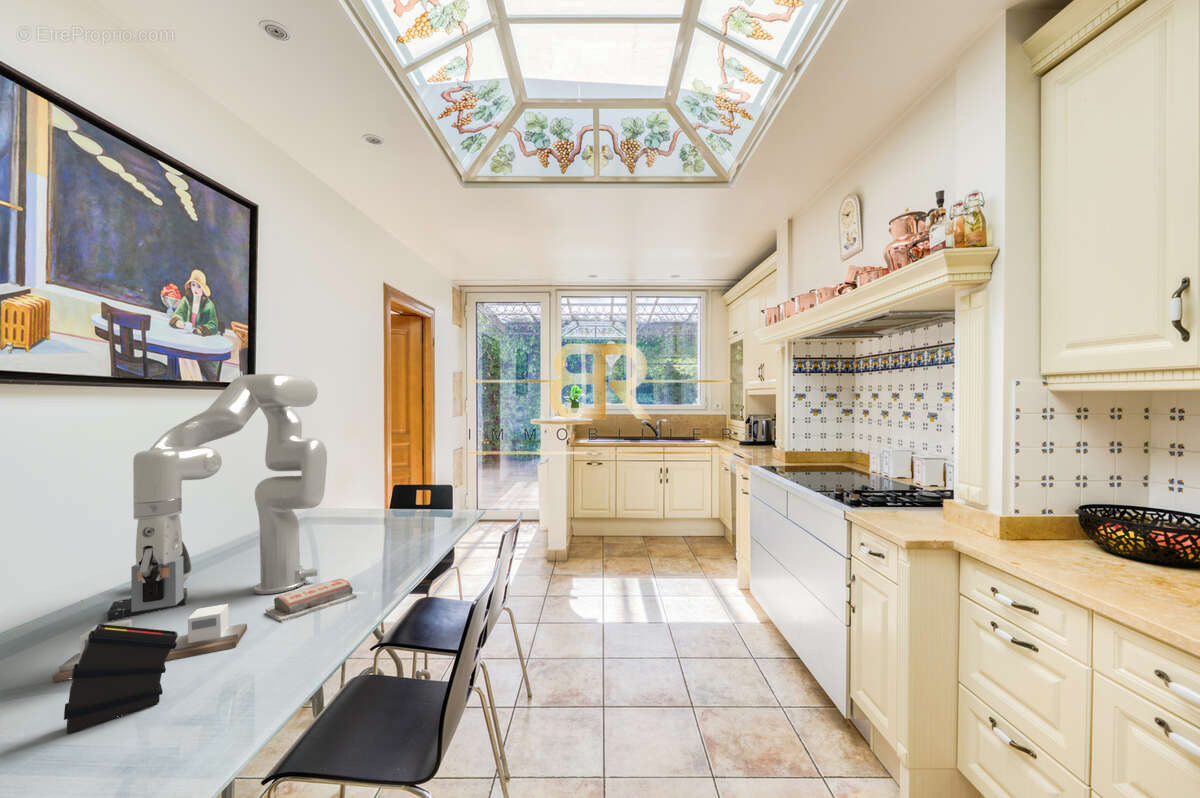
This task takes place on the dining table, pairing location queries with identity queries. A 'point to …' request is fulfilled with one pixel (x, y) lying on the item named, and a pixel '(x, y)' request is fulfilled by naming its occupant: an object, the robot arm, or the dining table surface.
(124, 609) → the disk drive
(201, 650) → the rail board
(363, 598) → the dining table surface
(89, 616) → the dining table surface
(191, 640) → the block
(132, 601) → the block
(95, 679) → the black ridged block
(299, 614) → the packaged product
